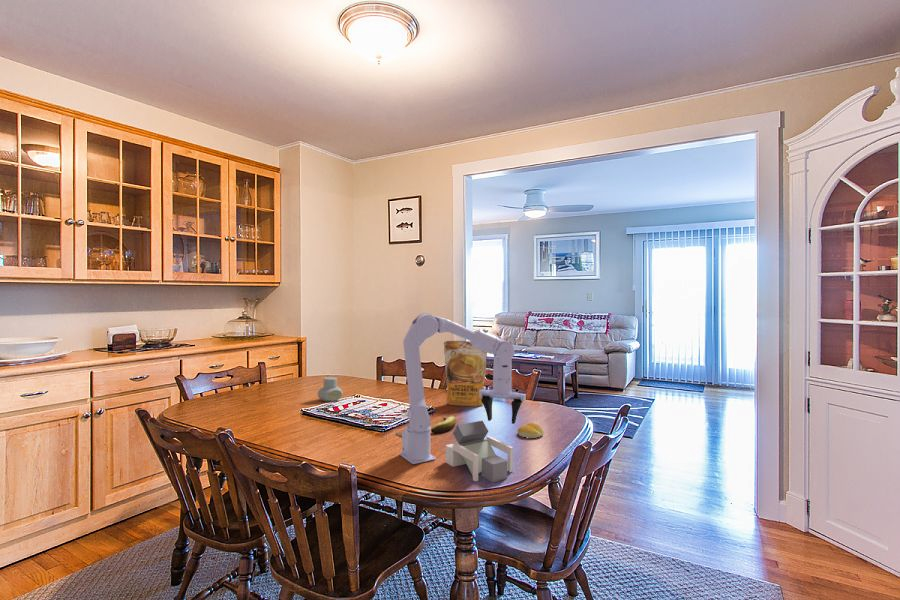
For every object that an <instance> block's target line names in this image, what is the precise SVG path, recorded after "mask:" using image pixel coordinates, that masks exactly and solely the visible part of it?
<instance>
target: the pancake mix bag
mask: <svg viewBox="0 0 900 600" xmlns="http://www.w3.org/2000/svg"><path fill="white" fill-rule="evenodd" d="M443 348H444V349H443V350H444V353H443V355H444V368H445V377H446V392H447V394H446V401H445V405H449V406H458V407H473V408H474V407H475V408H476V407H482V406H483V407H484V405H483V403H482V401H481V399H482V397H479V391H480V390H485V389H484V386H485V380H486V371H487V358H488V357H487V355H488V353H487V352H485V351H482V350H480V349H478V348H475V347H473V346H472V344H471V342H470V341H469V340H446V341H444V342H443Z"/></svg>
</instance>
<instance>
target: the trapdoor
mask: <svg viewBox="0 0 900 600" xmlns="http://www.w3.org/2000/svg"><path fill="white" fill-rule="evenodd" d="M452 434H453V436H454V438H455V439H456V443H458V444H459V445H461V446H463V447H465V448H467V449H468V450H470V451H472V452H474V453H476V454H477V455H479V464H478V475H482V458H486V457H490V456H494V455H496V453H495V451H494V448H493V446H491V445H490V443H489V441H488V439H487V438H486V437H487V436H488V434H489V429H488V428H487V426H486V424H485V422H484V420H477V421H472V422H466V423H462V424H461V423H460V424H457V425H456V427H455V429H454V431H453V433H452ZM483 439H484V440H483ZM463 458H464V460H465V462H466V464H465V465H466V466H467V467H468V470H469V472H470V473H471V475H472V477H473V461H471V460H469V459H468V458H466V457H464V456H463Z"/></svg>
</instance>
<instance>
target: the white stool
mask: <svg viewBox="0 0 900 600" xmlns="http://www.w3.org/2000/svg"><path fill="white" fill-rule="evenodd" d="M484 439H485V438H484ZM484 439H483V440H484ZM486 439H488V441H489V443H490V445H491V447H492V448H493V447H494V448H496V449H498V450H500V451H501V452H504V453H506V454H507V472H508V471H509V472H508V473H513V472H512V471H514V447H513V446H511V445H509V444H507V443H504V441H500V440H498V439H496V438H495V437H492V436H490V435H486ZM463 456H464V457H466V458H468V459H469V460H471V461H473V476H472V481H474V482H479V474H478V464H479V455H477V454H476V453H474V452H472V451H470V450H468V449H467V448H465V447H463V446H461V445H459V444H458V442H452V444H451V443H450V444H446V445H445V463H446V464H448V465H449V466H450V467H452V468H453V467H458V466H459V467H460V466H462V465H467V464H466V462H465V460H464V458H463Z"/></svg>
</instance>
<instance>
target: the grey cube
mask: <svg viewBox="0 0 900 600" xmlns="http://www.w3.org/2000/svg"><path fill="white" fill-rule="evenodd" d="M507 466H508V459H505V458H503V457H500V456H498V455H494V456H490V457H486V458H482V473H481V477H482V476H483V477H482V478H484V477H485V478H484V479H486V480H488V481H490V482H491V483H495V482H499V481H502V480H506V479H508V471H507Z"/></svg>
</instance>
